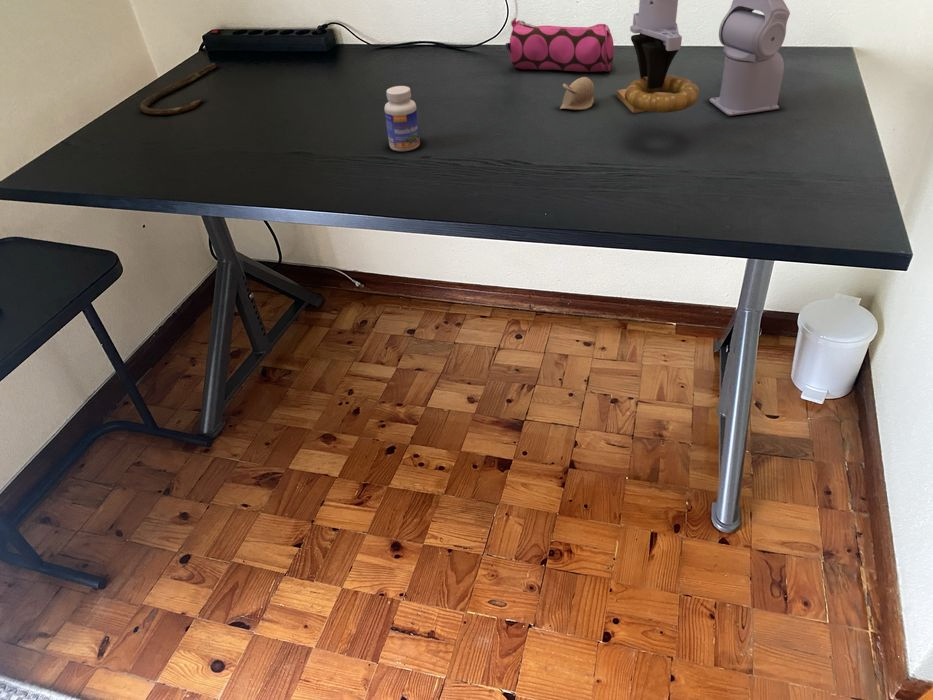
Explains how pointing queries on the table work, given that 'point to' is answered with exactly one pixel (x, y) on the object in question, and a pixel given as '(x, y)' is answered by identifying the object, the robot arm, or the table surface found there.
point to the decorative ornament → (578, 94)
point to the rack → (621, 96)
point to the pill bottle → (401, 119)
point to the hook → (169, 90)
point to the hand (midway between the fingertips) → (651, 84)
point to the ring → (679, 100)
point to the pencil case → (561, 47)
